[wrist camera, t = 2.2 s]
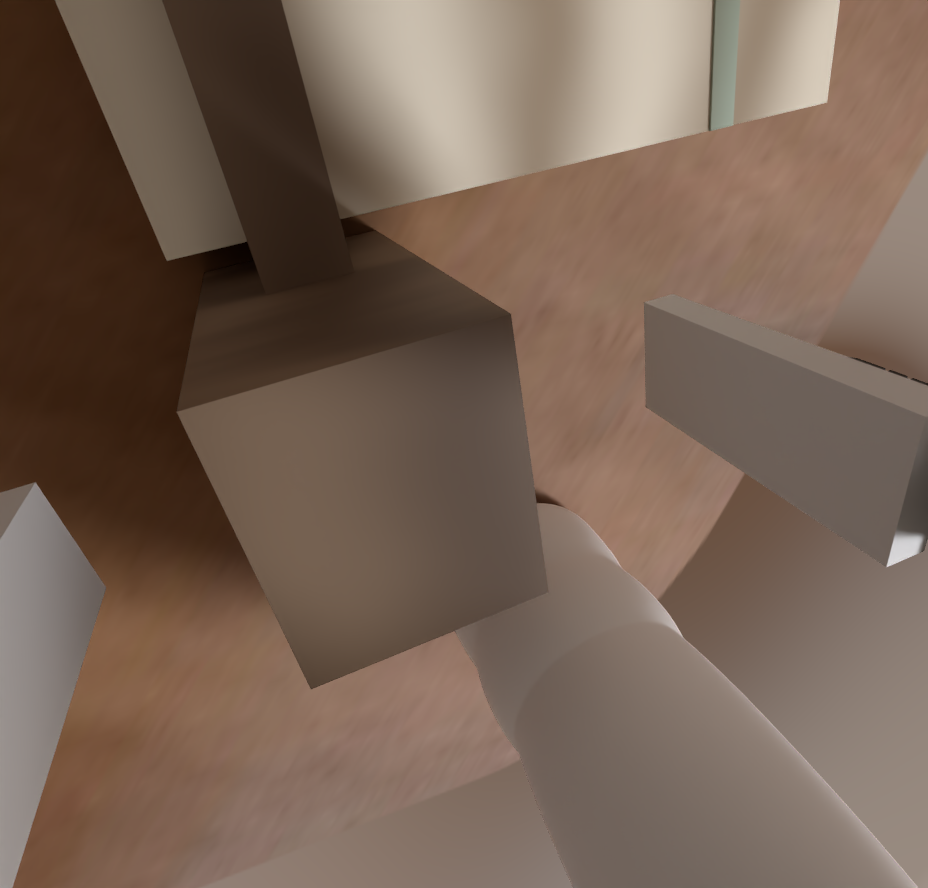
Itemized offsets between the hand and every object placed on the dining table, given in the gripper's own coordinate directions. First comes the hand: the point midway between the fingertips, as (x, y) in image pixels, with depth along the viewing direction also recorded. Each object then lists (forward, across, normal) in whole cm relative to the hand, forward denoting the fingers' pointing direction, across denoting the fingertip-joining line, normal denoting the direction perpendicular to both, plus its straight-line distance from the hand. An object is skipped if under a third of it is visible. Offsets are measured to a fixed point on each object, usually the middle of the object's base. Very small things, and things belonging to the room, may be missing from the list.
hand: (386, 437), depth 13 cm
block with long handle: (+7, -1, +4) cm, 8 cm away
